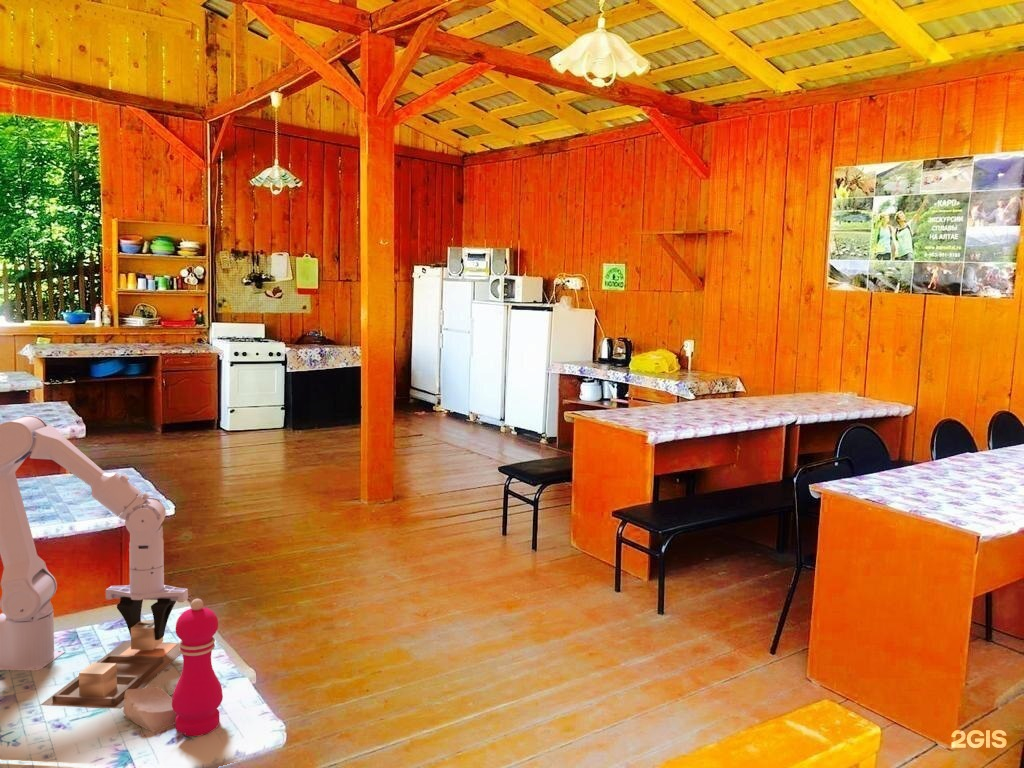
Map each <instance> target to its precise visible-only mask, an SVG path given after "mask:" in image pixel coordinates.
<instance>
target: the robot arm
mask: <svg viewBox="0 0 1024 768" xmlns="http://www.w3.org/2000/svg"><path fill="white" fill-rule="evenodd" d="M28 457H29V459H36V460H38V459H39V460H51V461H53V462H55V463H56V464H58V465H59V466H61V467H62V468H64V469H65V470H67V471H68V472H69V473H71V474H72V475H74V476H75V477H76V478H78V479H79V480H80V481H82V482H83V483H85V484H86V485H88V486H90V491H91V496H92V498H93V499H94V500H96V501H97V502H98V503H100V505H102V506H103V507H105V508H106V509H108V511H110V512H112V513H113V514H114V515H115V516H116V517H118V518H119V519H120V520H123V521H124V525H125V527H126V530H127V532H128V533H129V543H128V545H129V548H128V551H129V553H128V554H129V559H128V560H129V584H128V585H127V584H126V585H110V586H109V587H108V588H106V589H105V600H113V599H119V602H118V603H117V604H116V608H117V610H118V612H119V613H120V615H121V616H122V618H123V620H124V622H125V624H126V626H127V629H128V632H129V636H130V637H131V628H132V627H133V626H134V625H136V624H137V623H138V622H140V621H141V620H142V609H143V608H142V607H143V602H144V600H145V601H147V600H149V601H156V602H154V603H152V604H151V605H150V610H151V612H152V616H153V620H154V633H155V640H160V639H161V638H162V637H163V638H164V636H165V631H166V628H167V625H168V621H169V617H170V615H171V613H172V610H173V608H174V607H175V604H176V603H177V602H178V603H185V602H186V601H187V600H188V599H189V589H188V588H183V587H176V586H171V585H167V584H165V568H164V567H165V566H164V565H165V563H164V562H165V554H164V552H165V551H164V550H165V549H164V546H165V545H164V544H165V543H164V542H165V541H164V531H163V525H162V524H163V522H164V521H165V518H166V515H167V513H166V507H165V506H164V504H163V503H162V501H160V499H159V498H157V497H154V496H151V495H150V494H149V493H148V492H142V491H141V490H139V488H137V487H135V485H133V484H132V483H131V482H130V481H128V480H130V477H129V476H128V475H127V474H125V473H123V474H122V475H121V474H119V473H118V472H117V471H114V472H106V471H104V470H103V469H102V468H101V467H100V466H98V465H97V464H96V463H95V462H94V461H93V460H91V459H90V458H89V457H88V456H87V455H85V453H83V452H82V451H81V450H80V449H79V448H78V447H77V446H76V445H74V444H73V443H72V442H71V441H70V440H68V438H66V437H65V436H64V435H63V434H62V433H61V432H60V431H59V430H58V429H57V428H56V427H54V426H52V425H51V424H49V425H48V424H47V422H46V421H45V420H44V419H42V418H41V417H39V416H37V415H31V414H30V415H28V414H27V415H23V416H20V417H19V418H16V419H14V420H9V421H5V422H2V423H0V558H1V562H2V565H3V566H2V567H3V570H2V575H1V580H0V587H1V590H2V591H1V593H2V594H1V597H0V610H1V613H0V671H3V672H5V671H7V670H10V671H11V670H14V671H30V672H31V671H33V672H34V671H36V672H37V671H40V670H42V669H43V668H44V667H46V666H48V664H50V663H52V662H53V661H55V660H56V659H58V658H59V657H61V656H63V655H64V654H65V653H66V651H65V650H58V649H57V650H55V632H54V631H55V630H54V629H55V627H54V624H55V623H54V622H55V621H54V607H53V604H52V603H51V599H52V598H53V597H54V596H55V594H56V593H57V592H56V591H57V587H58V583H57V580H56V578H55V577H54V575H53V574H52V573H51V572H50V571H49V569H48V567H47V564H46V561H45V560H44V559H42V558H41V557H40V556H39V555H38V553H37V549H36V544H35V541H34V537H33V534H32V530H31V527H30V523H29V520H28V515H27V512H26V509H25V504H24V501H23V498H22V494H21V490H20V486H19V483H18V479H17V475H16V472H17V470H18V469H19V468H20V466H21V465H23V463H24V461H25V460H26V459H27V458H28Z"/></svg>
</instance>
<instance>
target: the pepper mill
mask: <svg viewBox="0 0 1024 768" xmlns="http://www.w3.org/2000/svg"><path fill="white" fill-rule="evenodd" d="M218 629H219V619H218V616H217V614H216V613H215V612H214V611H213V610H212V609H210V608H207V607H204V602H203V600H202V599H200V598H194V599H193V600H192V601H191V603H190V608H188V609H187V610H185V611H184V612H182V613H181V614H180V615H179V617H178V618H177V620H176V623H175V634H176V636H177V637H178V638H179V639H180V641H179V642H178V643H179V646H180V649H179V651H180V653H181V654H180V655H182V659H183V661H182V662H183V663H182V664H183V665H182V670H181V674H180V676H179V679H178V681H177V682H176V686H175V687H174V689H173V693H172V696H171V698H172V708H173V710H174V711H175V712H176V713H177V714H178V715H177V717H176V719H175V724H174V725H175V730H176V731H177V732H179V733H180V734H184V735H183V737H188V738H189V737H198V736H203V735H208V734H209V733H211V732H213V731H214V730H216V729H217V728H219V727H218V726H219V725H220V710H219V709H218V708H219V707H220V705H221V704H222V701H223V698H224V697H223V689H222V684H221V681H220V680H219V679H218V676H217V675H216V672H215V670H214V669H213V665H212V664H213V663H212V651H213V650H214V649H215V647H216V645H215V642H216V639H215V637H214V635H215V634H216V633H217V631H218Z"/></svg>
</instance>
